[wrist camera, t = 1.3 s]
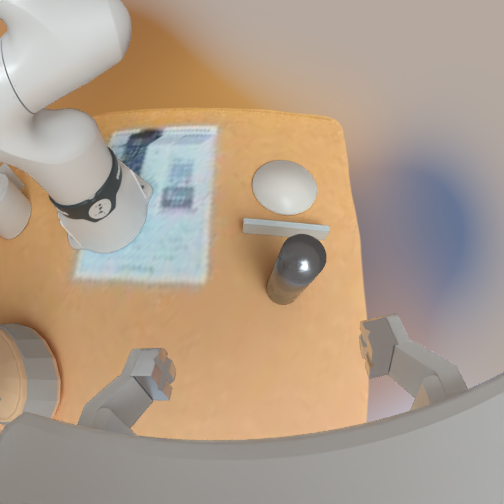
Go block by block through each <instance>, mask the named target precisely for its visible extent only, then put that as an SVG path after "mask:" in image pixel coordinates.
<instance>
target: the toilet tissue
mask: <svg viewBox="0 0 504 504" xmlns="http://www.w3.org/2000/svg"><path fill="white" fill-rule="evenodd" d="M24 186H25V185H24V184H23V182H21V180H20V179H19V178H18V177H17V176H16V175H15V173H14V172H13V171H12V170H11V169H10V168H9V167H8V166H7V164H6V163H4V164H3V165H2V166H0V236H1V237H2V238H4V239H8V240H9V239H13V238H15V237H16V236H18V235H19V234H20V233H21V232H22V231H23V229H24V228H25V227H26V225H27V223H28V221H29V218H30V214H31V203H30V201H29V199H28V198H27V197H26V196H25V195H24V194H23V193H22V192H21V191H20V190H21V189H22V188H23V187H24Z"/></svg>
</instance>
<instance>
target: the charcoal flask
mask: <svg viewBox="0 0 504 504" xmlns="http://www.w3.org/2000/svg"><path fill="white" fill-rule="evenodd" d="M325 263H326V252H325V249H324V247H323V245H322V244H321V243H320V241H318V240H317V239H316V238H314V237H313V236H310V235H307V234H296V235H293V236H291V237H290V238H288V239H287V240H286V241H285V242H284V244H283V246H282V248H281V251H280V253H279V256H278V258H277V261H276V263H275V266H274V268H273V271H272V273H271V276H270V278H269V280H268V283H267V294H268V296H269V298H270V299H271V300H272V301H273V302H275V303H277V304H280V305H286V304H289V303H291V302H293V301H294V300H295V299H296V298H297V297H298V296H299V295H300V294H301V293H302V292H303V290H304V289H305V288H306V287H307V286H308V285H309V284H310V283H311V282H312V281H313V280H314V278H315V277H316V276H317V275H318V274H319V273H320V272H321V271H322V269H323V268H324V266H325Z"/></svg>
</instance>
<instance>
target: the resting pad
mask: <svg viewBox="0 0 504 504" xmlns="http://www.w3.org/2000/svg"><path fill="white" fill-rule="evenodd" d="M252 188H253V193H254V195H255V198H256V199H257V201H258V202H259V203H260V204H261V205H262V206H263V207H264V208H266V209H267V210H269V211H271V212H273V213H275V214H279V215H285V216H291V215H297V214H300V213H303V212H305V211H306V210H308V209H309V208H310V207H311V206H312V204H313V203H314V201H315V198H316V195H317V185H316V182H315V180H314V178H313V176H312V175H311V173H310V172H309V171H308V170H306V169H305V168H304V167H302V166H301V165H299V164H297V163H294V162H291V161H285V160H277V161H272V162H269V163H266V164H264V165H263V166H261V167H260V168H259V169H258V170H257V172H256V173H255V175H254V178H253V184H252Z"/></svg>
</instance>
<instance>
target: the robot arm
mask: <svg viewBox="0 0 504 504" xmlns="http://www.w3.org/2000/svg"><path fill="white" fill-rule="evenodd" d="M0 19H1V20H3V22H4V23H5V24H6V26H7V28H8V31H7V32H6V33H5V34H4V35H3V36H2V37H0V162H2V163H6V164H9V165H12V166H15V167H17V168H19V169H21V170H22V171H24V172H26V173H27V174H28V175H30V176H31V177H32V178H33V179H34V180H35V181H36V182H37V183H38V184H39V185H40V186H41V187H42V188H43V189H44V190H45V191H46V192H47V193H48V195H49V198H50V200H51V202H52V203H53V204H54V206H55V208H56V209H57V210H58V212H57V215H58V217H59V218H60V219H61V220H60V224H61V225H62V226H63V228H64V229H65V230H66V231H67V235H68V240H69V244H70V246H71V247H72V248H73V249H76V250H78V249H88V250H90V251H93V252H96V253H112V252H115V251H118V250H120V249H122V248H124V247H125V246H127V245H128V244H129V243H130V242H132V241H133V240H134V239H135V238H136V236H137V235H138V234H139V232H140V231H141V229H142V227H143V225H144V222H145V219H146V213H147V204H148V202H149V200H150V198H151V196H152V194H153V189H152V187H151V186H150V185H149V184H148V183H147V182H145V181H144V180H143V179H142V178H141V177H139V176H138V175H137V174H136V173H135V172H133V171H132V170H131V169H130V168H129V167H127V166H126V165H125V164H124V163H123V162H121V161H120V160H119V159H118V158H117V157H116V156H115V154H114V153H113V151H112V150H111V149H110V148H109V147H107V145H106V143H105V141H104V138H103V136H102V134H101V132H100V130H99V128H98V125H97V123H96V121H95V120H94V119H93V118H92V117H91V116H90V115H88V114H87V113H85V112H83V111H80V110H78V109H71V108H70V109H69V108H67V109H56V110H50V109H44V108H45V107H46V106H48V105H49V104H51V103H53V102H55V101H56V100H58V99H60V98H62V97H63V96H65V95H67V94H69V93H70V92H72V91H74V90H76V89H78V88H80V87H82V86H84V85H86V84H87V83H89V82H90V81H92V80H93V79H95V78H96V77H98V76H99V75H100V74H102V73H103V72H105V71H106V70H108V69H109V68H111V67H112V66H114V65H115V64H117V63H118V62H120V61H121V60H122V59H123V57H124V55H125V53H126V51H127V49H128V46H129V43H130V39H131V33H132V31H131V30H132V26H131V25H132V24H131V19H130V15H129V13H128V10H127V9H126V7H125V6H124V4H123V3H122V2H121V1H120V0H0ZM142 187H144V188H142ZM360 330H361V335H360V336H359V343H360V350H361V355H362V358H364V359H365V360H366V361H365V368H366V371H367V375H368V378H369V379H370V378H375V377H380V376H384V375H388V374H389V376H390V377H391V378H392V379H393V380H394V381H396V382H397V383H398V384H399V385H400V386H402V387H403V388H404V389H405V390H406V391H407V392H408V393H410V394H411V395H412V396H413V397H414V398H415V400H414V402H413V405H412V407H411V409H410V411H408V412H405V413H401V414H398V415H394V416H391V417H387V418H383V419H380V420H376V421H372V422H368V423H363V424H359V425H354V426H350V427H345V428H340V429H334V430H329V431H323V432H316V433H310V434H302V435H294V436H286V437H275V438H263V439H247V440H183V439H167V438H155V437H145V436H137V434H136V433H134V432H133V431H132V430H131V429H130V428H131V427H132V426H133V425H134V424H135V422H136V421H137V420H138V419H139V418H140V416H141V415H142V414H143V413H144V412H145V410H146V409H147V408H148V407H149V406H150V404H151V403H152V402H153V401H152V400H170V396H171V392H172V387H171V385H170V384H171V383H172V382H173V381H174V380H175V376H176V371H175V366H174V363H173V361H172V360H171V359H169V358H167V354H168V353H167V352H166V350H165V349H164V348H146V349H133V350H132V351H131V352H130V355H129V357H128V359H127V362H126V364H125V367H124V369H123V372H122V374H121V376H118V377H117V378H115V379H114V380H113V381H112V382H111V383H110V384H108V385H107V386H106V387H105V388H104V389H103V390H102V391H100V392H99V393H98V394H97V395H96V396H95V397H93V398H92V399H91V400H90V401H89V402H88V403H87V404H85V406H84V409H83V411H82V414H81V416H80V419H79V421H78V424H77V425H74V424H70V423H66V422H62V421H58V420H55V419H51V418H48V417H44V416H41V415H38V414H34V413H31V412H24V413H23V414H21V415H19V416H18V417H17V418H15V419H14V420H13V421H11V422H10V423H9V424H7V425H6V426H5V428H4V429H3V430H2V432H1V433H0V504H504V372H503V373H501V374H499V375H497V376H495V377H493V378H491V379H489V380H487V381H485V382H483V383H481V384H479V385H476V386H474V387H472V388H470V389H468V388H467V386H466V384H465V382H464V380H463V378H462V376H461V374H460V372H459V370H458V368H457V366H456V365H454V364H453V363H451V362H449V361H448V360H446V359H444V358H443V357H441V356H439V355H438V354H436V353H434V352H432V351H431V350H429V349H428V348H426V347H424V346H423V345H421V344H419V343H417V342H416V341H410V339H409V337H408V335H407V332H406V330H405V328H404V326H403V324H402V322H401V320H400V318H399V316H398V315H397V314H396V313H394V314H390V315H386V316H382V317H377V318H373V319H369V320H364V321H361V322H360Z"/></svg>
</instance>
